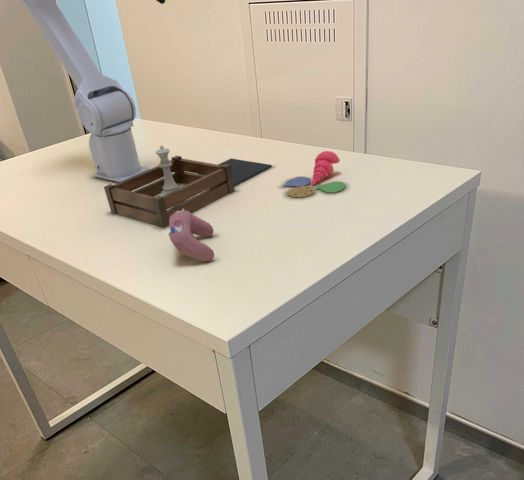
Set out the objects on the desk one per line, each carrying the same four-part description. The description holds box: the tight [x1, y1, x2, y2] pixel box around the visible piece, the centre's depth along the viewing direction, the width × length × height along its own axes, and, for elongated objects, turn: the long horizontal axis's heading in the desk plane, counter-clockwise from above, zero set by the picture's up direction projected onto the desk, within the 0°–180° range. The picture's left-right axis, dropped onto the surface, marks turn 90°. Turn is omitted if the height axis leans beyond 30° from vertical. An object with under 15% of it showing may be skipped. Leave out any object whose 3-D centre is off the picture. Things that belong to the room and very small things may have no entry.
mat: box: [200, 158, 273, 187], centre depth 108 cm, size 11×11×1 cm
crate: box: [103, 155, 236, 228], centre depth 97 cm, size 14×17×5 cm
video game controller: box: [168, 209, 215, 262], centre depth 80 cm, size 10×5×7 cm, turn 5°
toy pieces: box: [283, 150, 346, 198], centre depth 97 cm, size 12×11×4 cm
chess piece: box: [155, 144, 184, 205], centre depth 96 cm, size 4×4×10 cm
